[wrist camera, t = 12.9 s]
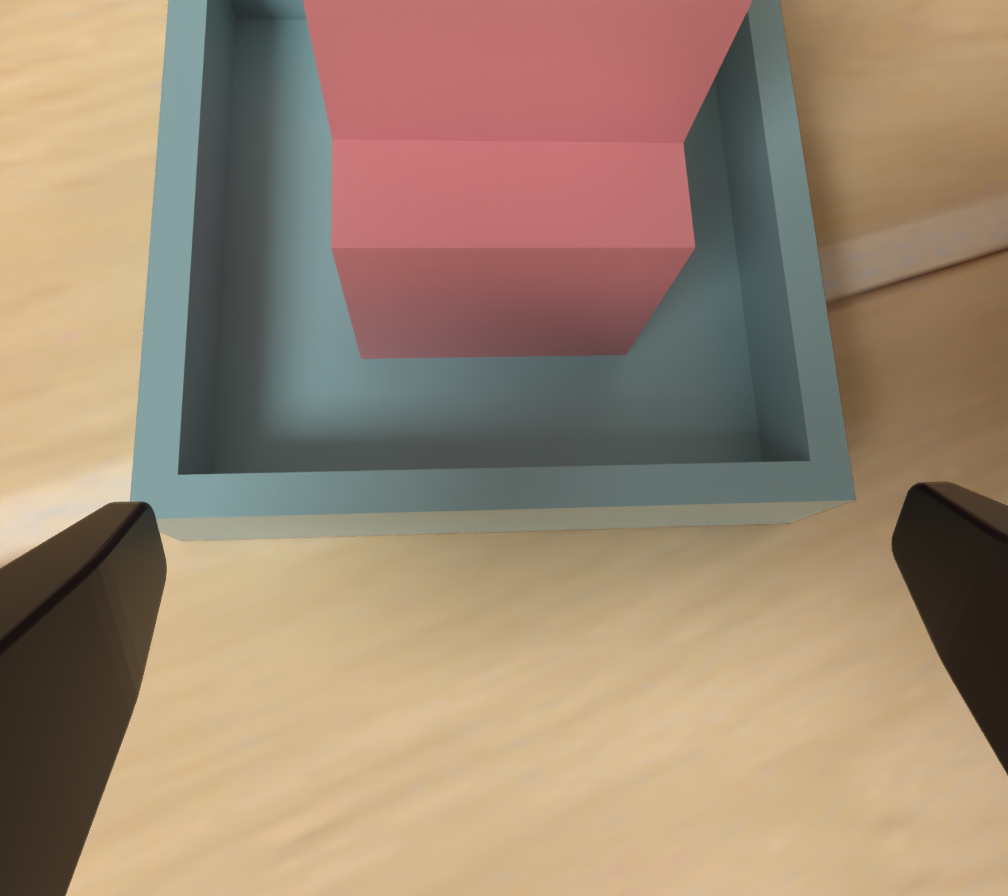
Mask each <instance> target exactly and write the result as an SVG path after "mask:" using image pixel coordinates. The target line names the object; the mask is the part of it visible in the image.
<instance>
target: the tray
mask: <svg viewBox="0 0 1008 896" xmlns="http://www.w3.org/2000/svg"><path fill="white" fill-rule="evenodd" d="M683 145H684V154H685V163H686V171H687V180H688V188H689V197H690V205H691V214H692V223H693V231H694V240H695V249H694V250H693V252H692V254H691V255H690V257H689V258H688V260H687V261H686V263H685V264H684V266H683V267H682V269H681V271H680V272H679V274H678V275H677V277H676V278H675V280H674V281H673V283H672V285H671V286H670V288H669V289H668V291H667V292H666V294H665V295H664V297H663V298H662V300H661V302H660V303H659V305H658V306H657V308H656V309H655V311H654V312H653V314H652V316H651V317H650V319H649V320H648V322H647V323H646V325H645V326H644V328H643V329H642V331H641V333H640V334H639V336H638V337H637V339H636V340H635V342H634V343H633V345H632V347H631V348H630V350H629V351H628V353H627V354H626V355H596V356H528V357H460V358H392V359H361V356H360V353H359V349H358V345H357V342H356V338H355V334H354V330H353V327H352V323H351V319H350V316H349V312H348V308H347V305H346V301H345V297H344V294H343V290H342V286H341V282H340V279H339V275H338V271H337V268H336V264H335V260H334V257H333V253H332V249H331V216H332V136H331V132H330V127H329V122H328V117H327V113H326V108H325V103H324V98H323V94H322V89H321V84H320V79H319V75H318V70H317V65H316V60H315V56H314V51H313V46H312V41H311V37H310V32H309V27H308V23H307V18H306V13H305V8H304V4H303V0H168V13H167V26H166V39H165V52H164V65H163V78H162V91H161V105H160V118H159V131H158V144H157V157H156V170H155V183H154V196H153V209H152V222H151V235H150V248H149V261H148V274H147V287H146V300H145V313H144V326H143V339H142V352H141V365H140V379H139V392H138V405H137V418H136V431H135V444H134V457H133V470H132V483H131V496H130V502H136V501H143V502H147V503H148V504H150V505H151V507H152V509H153V510H154V513H155V516H156V521H157V525H158V529H159V532H160V533H163V534H165V535H168V536H170V537H173V538H175V539H178V540H180V541H208V540H242V539H277V538H311V537H345V536H379V535H413V534H447V533H482V532H516V531H550V530H584V529H618V528H652V527H687V526H721V525H755V524H789V523H792V522H795V521H797V520H800V519H803V518H806V517H809V516H812V515H815V514H818V513H820V512H823V511H826V510H829V509H832V508H835V507H838V506H841V505H843V504H846V503H849V502H852V501H855V500H856V498H855V491H854V485H853V478H852V472H851V465H850V458H849V452H848V445H847V439H846V432H845V426H844V419H843V412H842V406H841V399H840V393H839V386H838V380H837V373H836V366H835V360H834V353H833V347H832V340H831V334H830V327H829V320H828V314H827V307H826V301H825V294H824V288H823V281H822V274H821V268H820V261H819V255H818V248H817V242H816V235H815V228H814V222H813V215H812V209H811V202H810V196H809V189H808V182H807V176H806V169H805V163H804V156H803V150H802V143H801V136H800V130H799V123H798V117H797V110H796V103H795V97H794V90H793V84H792V77H791V71H790V64H789V57H788V51H787V44H786V38H785V31H784V25H783V18H782V11H781V5H780V0H753V1H752V3H751V5H750V7H749V9H748V11H747V13H746V15H745V17H744V19H743V21H742V23H741V25H740V27H739V29H738V31H737V33H736V36H735V38H734V40H733V42H732V44H731V46H730V48H729V50H728V52H727V54H726V56H725V58H724V60H723V62H722V64H721V66H720V68H719V70H718V73H717V75H716V77H715V79H714V81H713V83H712V85H711V87H710V89H709V91H708V93H707V95H706V97H705V99H704V101H703V103H702V105H701V107H700V109H699V112H698V114H697V116H696V118H695V120H694V122H693V124H692V126H691V128H690V130H689V132H688V134H687V136H686V138H685V140H684V142H683Z"/></svg>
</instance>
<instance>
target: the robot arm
mask: <svg viewBox="0 0 1008 896" xmlns="http://www.w3.org/2000/svg"><path fill="white" fill-rule="evenodd" d="M892 552H893V556H894V559H895V561H896V563H897V565H898V568H899V570H900V572H901V574H902V576H903V579H904V581H905V583H906V585H907V587H908V590H909V592H910V594H911V596H912V598H913V601H914V603H915V605H916V607H917V610H918V612H919V614H920V616H921V618H922V621H923V623H924V625H925V627H926V629H927V632H928V634H929V636H930V638H931V640H932V643H933V645H934V647H935V649H936V651H937V653H938V655H939V657H940V659H941V661H942V663H943V665H944V667H945V668H946V670H947V672H948V674H949V676H950V677H951V679H952V681H953V683H954V684H955V686H956V688H957V690H958V691H959V693H960V695H961V696H962V698H963V700H964V702H965V703H966V705H967V707H968V708H969V710H970V712H971V713H972V715H973V717H974V719H975V720H976V722H977V724H978V725H979V727H980V729H981V731H982V732H983V734H984V736H985V737H986V739H987V741H988V743H989V744H990V746H991V748H992V749H993V751H994V753H995V755H996V756H997V758H998V760H999V761H1000V763H1001V765H1002V766H1003V768H1004V770H1005V772H1006V773H1007V775H1008V506H1006V505H1004V504H1002V503H999V502H997V501H994V500H992V499H990V498H987V497H985V496H982V495H980V494H978V493H975V492H973V491H970V490H968V489H966V488H963V487H961V486H958V485H956V484H954V483H950V482H920V483H917V484H915V485H913V486H912V487H911V488H910V489H909V491H908V493H907V495H906V498H905V501H904V504H903V507H902V510H901V513H900V515H899V518H898V521H897V524H896V527H895V530H894V533H893V536H892ZM166 573H167V566H166V558H165V554H164V549H163V545H162V541H161V537H160V533H159V529H158V525H157V521H156V516H155V513H154V510H153V509H152V507H151V505H150V504H148V503H147V502H143V501H136V502H112V503H109V504H107V505H105V506H103V507H102V508H100V509H98V510H97V511H95V512H93V513H92V514H90V515H88V516H87V517H85V518H83V519H82V520H80V521H78V522H77V523H75V524H73V525H72V526H70V527H68V528H67V529H65V530H63V531H62V532H60V533H58V534H57V535H55V536H53V537H52V538H50V539H48V540H47V541H45V542H43V543H42V544H40V545H38V546H37V547H35V548H33V549H32V550H30V551H28V552H27V553H25V554H23V555H22V556H20V557H18V558H17V559H15V560H13V561H12V562H10V563H8V564H7V565H5V566H4V567H2V568H0V896H66V893H67V890H68V888H69V885H70V882H71V879H72V877H73V874H74V871H75V869H76V866H77V863H78V860H79V858H80V855H81V852H82V850H83V847H84V844H85V841H86V839H87V836H88V833H89V830H90V828H91V825H92V822H93V820H94V817H95V814H96V811H97V809H98V806H99V803H100V801H101V798H102V795H103V792H104V790H105V787H106V784H107V782H108V779H109V776H110V773H111V771H112V768H113V765H114V762H115V760H116V757H117V754H118V752H119V749H120V746H121V743H122V741H123V738H124V735H125V733H126V730H127V727H128V724H129V722H130V719H131V716H132V713H133V710H134V707H135V704H136V701H137V698H138V695H139V691H140V687H141V683H142V679H143V675H144V671H145V667H146V662H147V658H148V654H149V650H150V645H151V641H152V637H153V632H154V628H155V624H156V620H157V615H158V611H159V607H160V603H161V598H162V594H163V590H164V585H165V581H166Z"/></svg>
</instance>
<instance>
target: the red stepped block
mask: <svg viewBox="0 0 1008 896" xmlns="http://www.w3.org/2000/svg"><path fill="white" fill-rule="evenodd" d="M752 1H753V0H303V4H304V8H305V13H306V18H307V23H308V27H309V32H310V37H311V41H312V46H313V51H314V56H315V60H316V65H317V70H318V75H319V79H320V84H321V89H322V94H323V98H324V103H325V108H326V113H327V117H328V122H329V127H330V132H331V136H332V216H331V249H332V253H333V257H334V260H335V264H336V268H337V271H338V275H339V279H340V282H341V286H342V290H343V294H344V297H345V301H346V305H347V308H348V312H349V316H350V319H351V323H352V327H353V330H354V334H355V338H356V342H357V345H358V349H359V353H360V356H361V359H392V358H460V357H528V356H596V355H626V354H627V353H628V351H629V350H630V348H631V347H632V345H633V343H634V342H635V340H636V339H637V337H638V336H639V334H640V333H641V331H642V329H643V328H644V326H645V325H646V323H647V322H648V320H649V319H650V317H651V316H652V314H653V312H654V311H655V309H656V308H657V306H658V305H659V303H660V302H661V300H662V298H663V297H664V295H665V294H666V292H667V291H668V289H669V288H670V286H671V285H672V283H673V281H674V280H675V278H676V277H677V275H678V274H679V272H680V271H681V269H682V267H683V266H684V264H685V263H686V261H687V260H688V258H689V257H690V255H691V254H692V252H693V250H694V249H695V240H694V231H693V223H692V214H691V205H690V197H689V188H688V180H687V171H686V163H685V154H684V145H683V142H684V140H685V138H686V136H687V134H688V132H689V130H690V128H691V126H692V124H693V122H694V120H695V118H696V116H697V114H698V112H699V109H700V107H701V105H702V103H703V101H704V99H705V97H706V95H707V93H708V91H709V89H710V87H711V85H712V83H713V81H714V79H715V77H716V75H717V73H718V70H719V68H720V66H721V64H722V62H723V60H724V58H725V56H726V54H727V52H728V50H729V48H730V46H731V44H732V42H733V40H734V38H735V36H736V33H737V31H738V29H739V27H740V25H741V23H742V21H743V19H744V17H745V15H746V13H747V11H748V9H749V7H750V5H751V3H752Z"/></svg>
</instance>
